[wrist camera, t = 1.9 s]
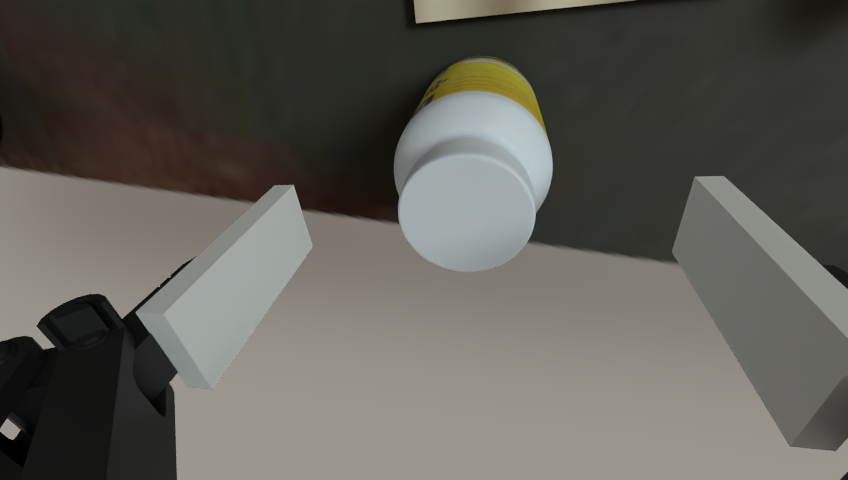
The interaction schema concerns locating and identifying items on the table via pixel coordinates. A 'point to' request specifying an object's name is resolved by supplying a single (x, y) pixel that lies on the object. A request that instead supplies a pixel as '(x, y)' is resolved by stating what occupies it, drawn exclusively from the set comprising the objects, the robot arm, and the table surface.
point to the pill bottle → (473, 166)
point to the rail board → (489, 7)
